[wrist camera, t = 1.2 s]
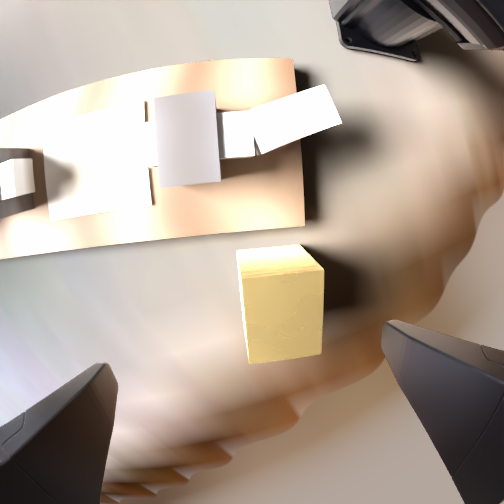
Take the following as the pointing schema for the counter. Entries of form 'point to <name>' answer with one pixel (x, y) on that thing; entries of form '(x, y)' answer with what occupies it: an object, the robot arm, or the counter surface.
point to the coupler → (281, 302)
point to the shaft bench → (174, 206)
